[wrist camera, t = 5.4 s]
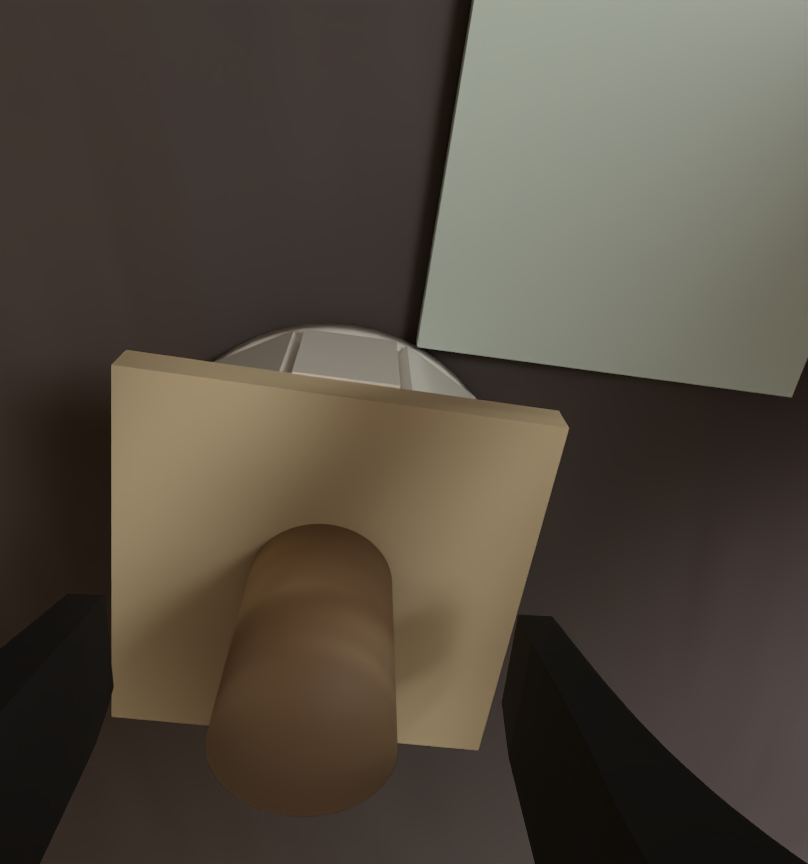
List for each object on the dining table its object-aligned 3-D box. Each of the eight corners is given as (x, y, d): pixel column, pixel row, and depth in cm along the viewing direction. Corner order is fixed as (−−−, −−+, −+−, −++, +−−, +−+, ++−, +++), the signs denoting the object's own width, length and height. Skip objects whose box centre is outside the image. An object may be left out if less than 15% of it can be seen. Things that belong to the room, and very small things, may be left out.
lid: (559, 410, 14) (643, 555, 9) (474, 722, 17) (507, 937, 13) (126, 350, 13) (0, 477, 9) (123, 689, 16) (30, 905, 12)
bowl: (531, 348, 17) (567, 407, 14) (465, 633, 20) (482, 732, 17) (163, 298, 16) (111, 348, 13) (158, 603, 20) (116, 702, 16)
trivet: (929, 16, 14) (944, 13, 14) (782, 391, 18) (791, 397, 17) (483, -69, 14) (486, -73, 13) (415, 342, 17) (416, 347, 16)
